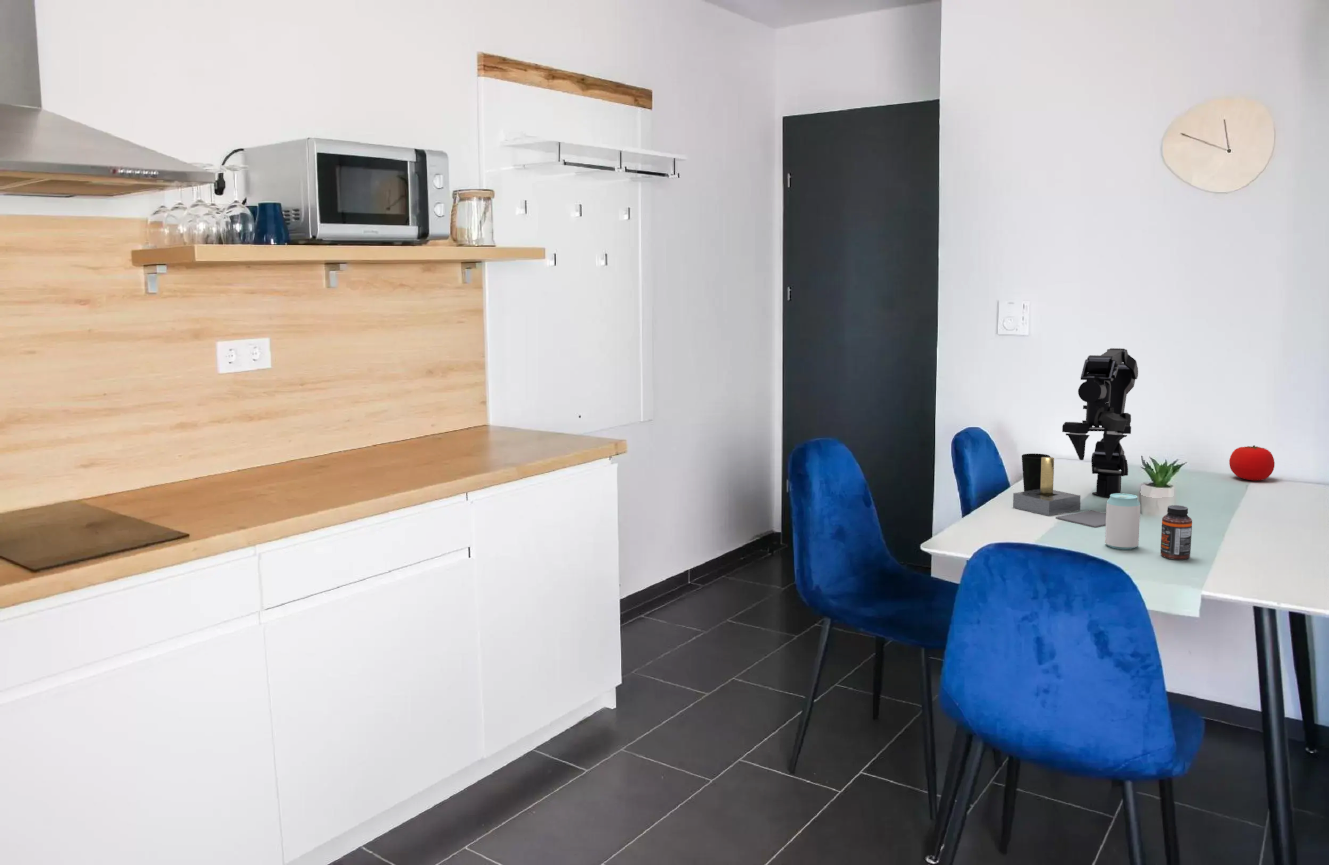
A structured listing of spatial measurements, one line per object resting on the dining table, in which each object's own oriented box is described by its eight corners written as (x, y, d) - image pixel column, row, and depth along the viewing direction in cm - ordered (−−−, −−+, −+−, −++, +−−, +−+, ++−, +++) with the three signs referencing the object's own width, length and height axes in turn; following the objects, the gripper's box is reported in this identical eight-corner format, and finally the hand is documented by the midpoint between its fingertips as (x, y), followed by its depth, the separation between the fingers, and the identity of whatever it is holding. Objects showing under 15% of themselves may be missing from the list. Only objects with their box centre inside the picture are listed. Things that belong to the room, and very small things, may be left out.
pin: (1049, 507, 271) (1050, 456, 269) (1054, 509, 268) (1056, 458, 266) (1037, 507, 271) (1039, 457, 269) (1043, 510, 268) (1044, 459, 266)
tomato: (1282, 483, 296) (1284, 448, 294) (1242, 483, 296) (1244, 449, 294) (1258, 475, 307) (1260, 442, 306) (1220, 476, 308) (1222, 442, 306)
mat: (1091, 511, 265) (1091, 510, 265) (1131, 520, 254) (1132, 518, 254) (1055, 518, 258) (1055, 516, 258) (1095, 527, 248) (1095, 526, 248)
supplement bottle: (1154, 553, 223) (1156, 504, 222) (1179, 552, 224) (1182, 503, 222) (1170, 560, 217) (1172, 510, 216) (1196, 559, 218) (1198, 509, 216)
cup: (1051, 500, 280) (1052, 458, 278) (1022, 499, 282) (1023, 457, 280) (1046, 494, 287) (1047, 453, 286) (1018, 494, 289) (1019, 453, 287)
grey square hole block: (1043, 502, 278) (1044, 488, 277) (1079, 510, 267) (1080, 495, 266) (1013, 507, 272) (1013, 493, 271) (1048, 515, 261) (1049, 500, 261)
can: (1141, 550, 226) (1144, 499, 224) (1108, 549, 227) (1110, 498, 226) (1134, 543, 233) (1136, 492, 231) (1101, 542, 234) (1103, 492, 233)
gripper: (1093, 403, 257) (1090, 463, 258) (1149, 404, 263) (1145, 462, 264) (1062, 401, 267) (1059, 459, 268) (1116, 402, 273) (1113, 458, 274)
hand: (1095, 459), depth 268 cm, fingers open, 9 cm apart
